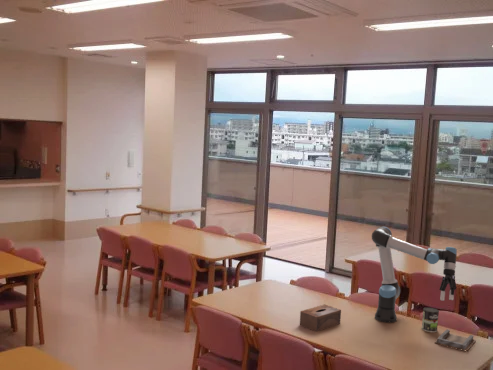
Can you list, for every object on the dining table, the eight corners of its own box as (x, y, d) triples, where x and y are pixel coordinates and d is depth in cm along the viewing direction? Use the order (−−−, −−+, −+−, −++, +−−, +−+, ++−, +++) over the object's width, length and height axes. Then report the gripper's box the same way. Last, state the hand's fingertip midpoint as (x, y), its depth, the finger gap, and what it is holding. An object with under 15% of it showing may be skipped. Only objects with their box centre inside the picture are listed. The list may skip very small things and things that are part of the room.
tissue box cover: (315, 331, 356) (316, 317, 355) (299, 325, 366) (300, 311, 365) (340, 323, 373) (341, 309, 372) (323, 317, 384) (324, 304, 383)
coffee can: (440, 331, 366) (442, 311, 364) (427, 332, 363) (428, 312, 361) (431, 326, 375) (433, 306, 374) (418, 327, 373) (420, 307, 371)
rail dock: (434, 343, 345) (434, 338, 344) (444, 333, 363) (444, 328, 362) (467, 351, 333) (467, 346, 333) (475, 341, 351) (475, 336, 351)
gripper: (463, 269, 362) (460, 300, 357) (446, 271, 386) (443, 301, 381) (452, 266, 362) (449, 298, 357) (436, 269, 386) (433, 299, 381)
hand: (446, 300), depth 369 cm, fingers open, 13 cm apart
